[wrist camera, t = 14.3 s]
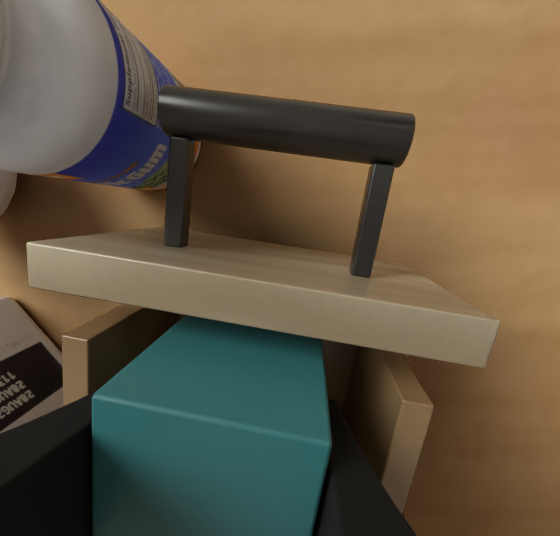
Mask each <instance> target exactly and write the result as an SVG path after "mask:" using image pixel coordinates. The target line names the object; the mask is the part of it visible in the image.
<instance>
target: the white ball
mask: <svg viewBox="0 0 560 536" xmlns="http://www.w3.org/2000/svg"><path fill="white" fill-rule="evenodd" d="M16 182H17V172H11V171H6V170H1V169H0V216H1V215H2V214H3V213H4V212H5V211H6V210H7V208H8V205H9V203H10V201H11V199H12V197H13V195H14V192H15V189H16Z"/></svg>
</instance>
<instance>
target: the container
mask: <svg viewBox="0 0 560 536" xmlns="http://www.w3.org/2000/svg"><path fill="white" fill-rule="evenodd" d="M63 406H64V403H63V366H62V353H61V352H60V351H59V349H58V348H57V347H56V346H55V345H54V344H53V343H52V342H51V340H50V339H49V338H48V337H47V336H46V335H45V334H44V333H43V331H42V330H41V329H40V328H39V327H38V326H37V325H36V323H35V322H34V321H33V320H32V319H31V318H30V317H29V316H28V314H27V313H26V312H25V311H24V310H23V309H22V308H21V307H20V305H19V304H18V303H17V302H16V301H15V300H14V299H13V298H11V297H2V298H0V433H2V432H5V431H7V430H10V429H12V428H15V427H17V426H20V425H22V424H25V423H27V422H29V421H32V420H34V419H36V418H38V417H40V416H43V415H45V414H47V413H49V412H52V411H54V410H56V409H58V408H61V407H63Z"/></svg>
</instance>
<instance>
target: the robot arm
mask: <svg viewBox="0 0 560 536" xmlns="http://www.w3.org/2000/svg"><path fill="white" fill-rule="evenodd" d="M97 391H98V390H97ZM95 392H96V391H95ZM95 392H93V393H91V394H89V395H87V396H85V397H82V398H80V399H78V400H76V401H74V402H72V403H69V404H67V405H65V406H63V407H61V408H58V409H56V410H54V411H52V412H49V413H47V414H45V415H43V416H40V417H38V418H36V419H34V420H32V421H29V422H27V423H25V424H22V425H20V426H17V427H15V428H12V429H10V430H7V431H5V432H2V433H0V536H92V397H93V395H94V393H95ZM328 406H329V417H330V428H331V438H332V448H331V452H330V457H329V462H328V466H327V471H326V475H325V480H324V485H323V489H322V494H321V498H320V503H319V507H318V512H317V517H316V521H315V526H314V530H313V535H312V536H417V535H416V534H415V533H414V531H413V530H412V528H411V527H410V525H409V524H408V523H407V521H406V520H405V518H404V517H403V515H402V514H401V512H400V511H399V509H398V508H397V506H396V505H395V503H394V502H393V500H392V499H391V497H390V496H389V494H388V493H387V491H386V490H385V488H384V487H383V485H382V483H381V482H380V480H379V478H378V477H377V475H376V474H375V472H374V470H373V469H372V467H371V465H370V464H369V462H368V460H367V458H366V457H365V455H364V453H363V452H362V450H361V448H360V446H359V445H358V443H357V441H356V439H355V437H354V435H353V434H352V432H351V430H350V428H349V426H348V424H347V422H346V420H345V418H344V416H343V414H342V412H341V410H340V408H339V406H338V404H337V403H336V401H335V400H330V399H328Z"/></svg>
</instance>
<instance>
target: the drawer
mask: <svg viewBox="0 0 560 536" xmlns="http://www.w3.org/2000/svg"><path fill="white" fill-rule="evenodd" d="M157 113H158V119H159V123H160V126H161V128H162V130H163V132H164V133H165V135H166V136H168V137H170V138H169V156H168V175H167V194H166V212H165V226H162V227H154V228H145V229H136V230H128V231H119V232H110V233H101V234H93V235H84V236H75V237H67V238H58V239H49V240H40V241H32V242H27V244H26V245H27V264H28V283H29V287H32V288H38V289H44V290H49V291H55V292H60V293H66V294H71V295H77V296H83V297H88V298H94V299H99V300H105V301H111V302H116V303H122V304H123V305H121V306H119V307H117V308H115V309H113V310H111V311H109V312H107V313H105V314H103V315H101V316H99V317H97V318H95V319H93V320H91V321H89V322H87V323H85V324H83V325H81V326H79V327H77V328H75V329H73V330H71V331H69V332H68V333H66V334H64V335H62V366H63V403H64V406H65V405H67V404H69V403H72V402H74V401H76V400H78V399H80V398H82V397H85V396H87V395H89V394H91V393H93V392H95V391H97V390H99V389H100V388H101V387H102V386H103V385H105V384H106V383H107V382H108V381H109V380H110V379H112V378H113V377H114V376H115V375H116V374H118V373H119V372H120V371H121V370H122V369H123V368H125V367H126V366H127V365H128V364H129V363H130V362H132V361H133V360H134V359H135V358H136V357H137V356H139V355H140V354H141V353H142V352H143V351H145V350H146V349H147V348H148V347H149V346H150V345H152V344H153V343H154V342H155V341H156V340H157V339H159V338H160V337H161V336H162V335H163V334H164V333H166V332H167V331H168V330H169V329H170V328H171V327H173V326H174V325H175V324H176V323H177V322H179V321H180V320H181V319H182V318H183V317H184V316H186V315H189V316H194V317H200V318H205V319H211V320H216V321H222V322H228V323H233V324H239V325H244V326H250V327H255V328H261V329H267V330H272V331H278V332H283V333H289V334H295V335H300V336H306V337H311V338H317V339H322V343H323V353H324V364H325V375H326V385H327V396H328V399H330V400H335V401H336V403H337V404H338V406H339V408H340V410H341V412H342V414H343V416H344V418H345V420H346V422H347V424H348V426H349V428H350V430H351V432H352V434H353V435H354V437H355V439H356V441H357V443H358V445H359V446H360V448H361V450H362V452H363V453H364V455H365V457H366V458H367V460H368V462H369V464H370V465H371V467H372V469H373V470H374V472H375V474H376V475H377V477H378V478H379V480H380V482H381V483H382V485H383V487H384V488H385V490H386V491H387V493H388V494H389V496H390V497H391V499H392V500H393V502H394V503H395V505H396V506H397V508H398V509H399V511H400V512H401V514H402V513H403V509H404V506H405V503H406V500H407V496H408V493H409V490H410V486H411V483H412V480H413V476H414V473H415V470H416V466H417V463H418V460H419V456H420V453H421V450H422V446H423V443H424V440H425V437H426V433H427V430H428V427H429V423H430V420H431V417H432V413H433V410H434V405H433V404H432V402H431V400H430V399H429V397H428V396H427V394H426V393H425V391H424V389H423V388H422V386H421V385H420V383H419V381H418V380H417V378H416V377H415V375H414V374H413V372H412V370H411V369H410V367H409V366H408V364H407V362H406V361H405V359H404V358H403V356H402V354H406V355H412V356H417V357H423V358H428V359H434V360H440V361H445V362H451V363H456V364H462V365H467V366H473V367H479V368H485V366H486V363H487V360H488V357H489V355H490V352H491V349H492V346H493V343H494V340H495V337H496V334H497V331H498V328H499V325H500V321H499V320H497V319H495V318H494V317H492V316H490V315H489V314H487V313H485V312H483V311H482V310H480V309H478V308H477V307H475V306H473V305H472V304H470V303H468V302H466V301H465V300H463V299H461V298H460V297H458V296H456V295H455V294H453V293H451V292H449V291H448V290H446V289H444V288H443V287H441V286H439V285H438V284H436V283H434V282H432V281H431V280H429V279H427V278H426V277H424V276H422V275H421V274H419V273H417V272H415V271H414V270H412V269H410V268H409V267H407V266H405V265H404V264H401V263H395V262H389V261H382V260H376V259H375V254H376V250H377V245H378V241H379V236H380V231H381V227H382V222H383V218H384V213H385V209H386V204H387V200H388V195H389V190H390V186H391V181H392V177H393V172H394V167H395V168H397V167H400V166H401V165H402V164H403V162H404V161H405V159H406V157H407V155H408V152H409V150H410V147H411V144H412V140H413V136H414V131H415V116H414V115H413V114H410V113H402V112H393V111H385V110H376V109H368V108H360V107H351V106H343V105H334V104H326V103H317V102H309V101H300V100H292V99H284V98H275V97H267V96H258V95H250V94H241V93H233V92H225V91H216V90H208V89H199V88H191V87H182V86H174V85H165V86H163V87H162V88H161V90H160V92H159V95H158V100H157ZM193 141H199V142H206V143H214V144H221V145H229V146H236V147H244V148H251V149H259V150H266V151H274V152H281V153H289V154H297V155H304V156H312V157H319V158H327V159H334V160H342V161H349V162H357V163H364V164H372V166H370V168H369V173H368V178H367V183H366V188H365V193H364V198H363V203H362V208H361V213H360V218H359V223H358V228H357V233H356V238H355V243H354V248H353V253H352V256H350V255H344V254H338V253H331V252H325V251H318V250H312V249H306V248H299V247H293V246H286V245H280V244H274V243H267V242H261V241H255V240H248V239H242V238H235V237H229V236H223V235H216V234H210V233H203V232H197V231H191V230H189V225H190V211H191V197H192V183H193V170H194V156H195V143H194V142H193Z"/></svg>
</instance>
